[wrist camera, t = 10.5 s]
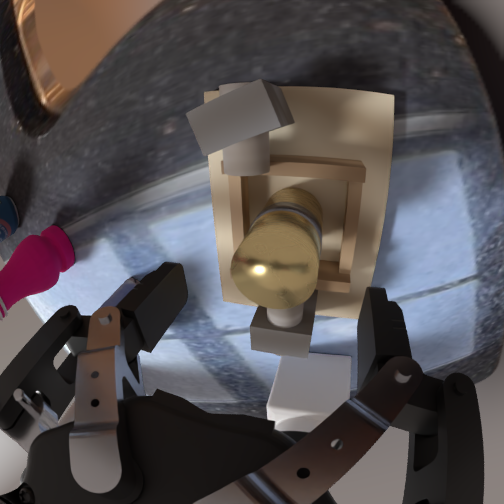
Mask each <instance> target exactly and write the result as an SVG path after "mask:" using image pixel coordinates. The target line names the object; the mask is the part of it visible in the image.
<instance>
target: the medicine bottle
mask: <svg viewBox="0 0 504 504" xmlns="http://www.w3.org/2000/svg"><path fill="white" fill-rule="evenodd" d="M351 362H352V359H351V357H350V356H344V355H331V354H320V353H310V352H309V354H308V359H307V358H299V357H292V356H281V358H280V361H279V365H278V369H277V372H276V376H275V379H274V383H273V386H272V389H271V393H270V396H269V399H268V403H267V417H268V420H273V421H275V429H276V430H278V431H281V432H282V433H284V434H286V435H288V436H289V437H290V438H292V439H293V440H294V441H295V442H298V441H300V440H301V439H302V438H303V437H305V436H306V435H307V434H308V433H310V432H311V431H312V430H313V429H314V428H316V427H317V426H318V425H319V424H320V423H322V422H323V421H324V420H325V419H326V418H327V417H328V416H330V415H331V414H332V413H333V412H334V411H335V410H336V409H337V408H338V407H339V406H340V405H342V404H343V403H344V402H345V401H346V400H348V399H350V383H351Z"/></svg>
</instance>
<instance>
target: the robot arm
mask: <svg viewBox="0 0 504 504" xmlns="http://www.w3.org/2000/svg"><path fill="white" fill-rule="evenodd" d="M187 298H188V290H187V285H186V280H185V275H184V270H183V266H182V265H181V264H180V263H172V262H164V263H163V264H162V265H161V266H160V267H159V268H158V269H157V270H156V271H153V272H151V273H149V274H148V275H146V276H145V277H144V278H143V279H142V280H141V281H140V282H139V284H137V285H136V286H135V287H134V289H132V290H131V291H130V292H129V293H128V294H127V295H126V296H125V297H124V298H123V299H122V300H121V301H120V302H119V303H118V304H117V305H116V306H115V307H113V306H106V307H102V308H100V309H98V310H97V311H95V312H94V313H93V314H92V316H84V315H80V313H79V311H78V309H77V307H76V306H73V305H68V306H64V307H62V308H60V309H59V310H58V311H56V312H55V314H54V315H53V316H52V317H51V318H50V319H49V320H48V321H47V322H46V323H45V324H44V325H43V326H42V327H41V328H40V329H39V331H38V332H37V333H36V334H35V335H34V336H33V337H32V338H31V339H30V341H29V342H28V343H27V344H26V345H25V346H24V347H23V349H22V350H21V351H20V352H19V353H18V355H16V357H15V358H14V359H13V360H12V361H11V363H10V364H9V365H8V366H7V368H6V369H5V370H4V371H3V373H2V374H1V375H0V429H1V430H2V431H3V432H4V433H6V434H7V435H8V436H9V437H10V438H12V439H13V440H14V441H16V442H17V443H18V444H19V445H20V446H21V447H22V448H23V449H24V450H25V451H26V452H27V453H28V459H27V467H26V468H25V470H24V471H23V474H22V475H21V479H20V484H21V485H20V486H19V487H18V488H17V489H15V490H14V491H12V492H9V493H7V494H4V495H0V504H337V503H336V502H335V500H334V499H333V497H332V496H331V494H330V492H329V491H328V489H329V488H331V487H332V486H333V485H334V484H335V483H336V482H337V481H338V480H340V479H341V478H342V477H343V476H344V475H345V474H346V473H347V472H348V471H349V470H350V469H351V468H352V467H353V466H354V465H355V464H356V463H357V462H358V461H359V460H360V459H361V458H362V457H363V456H364V455H365V454H366V453H367V452H368V451H369V449H370V448H371V447H372V446H373V445H374V444H375V443H376V441H378V439H379V438H380V437H381V436H382V435H383V434H384V432H385V431H386V430H387V429H388V427H389V426H392V427H396V428H399V429H402V430H405V431H409V449H408V463H407V464H408V465H407V474H406V483H405V490H404V497H403V503H402V504H483V496H484V450H483V438H482V427H481V419H480V412H479V405H478V399H477V394H476V389H475V385H474V383H473V381H472V380H471V379H470V378H469V377H468V376H466V375H464V374H462V373H453V374H450V375H449V376H447V378H446V379H445V380H444V381H443V380H440V379H437V378H433V377H430V376H427V375H425V374H423V371H422V369H421V367H420V365H419V364H418V363H417V362H416V361H415V360H413V359H412V355H411V349H410V344H409V339H408V334H407V330H406V325H405V322H404V316H403V312H402V310H401V308H400V307H399V306H398V304H397V303H396V302H394V301H388V299H387V294H386V290H385V288H377V287H367V288H366V291H365V295H364V299H363V303H362V307H361V310H360V314H359V318H358V326H357V339H358V382H357V395H356V396H355V397H354V398H353V399H351V398H350V399H348V400H346V401H345V402H344V403H343V404H342V405H340V406H339V407H338V408H337V409H336V410H335V411H334V412H333V413H332V414H331V415H330V416H328V417H327V418H326V419H325V420H324V421H323V422H322V423H320V424H319V425H318V426H317V427H316V428H314V429H313V430H312V431H311V432H310V433H308V434H307V435H306V436H305V437H303V438H302V439H301V440H300V441H298V442H295V441H294V440H293V439H292V438H290V437H289V436H288V435H286V434H284V433H282V432H281V431H278V430H276V429H275V421H273V420H267V419H262V418H257V417H252V416H247V415H236V414H211V413H207V412H205V411H204V410H202V409H200V408H198V407H197V406H195V405H193V404H192V403H190V402H189V401H187V400H185V399H184V398H182V397H179V396H176V395H173V394H170V393H167V392H164V391H162V390H159V389H156V391H155V393H154V394H153V396H146V394H145V391H144V386H143V379H142V372H141V364H140V357H139V355H138V353H139V351H140V350H144V351H146V352H149V353H151V352H152V350H153V349H154V347H155V346H156V344H157V343H158V342H159V340H160V339H161V337H162V336H163V335H164V333H165V332H166V330H167V329H168V328H169V326H170V325H171V323H172V322H173V320H174V319H175V318H176V316H177V315H178V314H179V312H180V311H181V309H182V308H183V307H184V305H185V304H186V301H187ZM65 344H66V345H67V346H68V348H69V350H70V351H71V353H70V354H69V355H68V357H67V358H66V359H65V361H64V362H63V363H62V364H61V366H60V367H59V368H58V369H57V370H56V369H55V367H54V365H53V360H54V357H55V356H56V355H57V353H58V352H59V351H60V350H61V349H62V347H63V346H64V345H65ZM74 396H75V401H74V402H73V403H72V405H71V406H70V408H69V409H68V410H67V412H66V413H65V415H64V416H63V417H62V419H61V420H60V422H59V423H58V420H59V419H60V417H61V415H62V414H63V412H64V411H65V409H66V408H67V406H68V405H69V403H70V402H71V400H72V399H73V397H74Z"/></svg>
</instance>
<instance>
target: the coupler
mask: <svg viewBox="0 0 504 504" xmlns="http://www.w3.org/2000/svg"><path fill="white" fill-rule="evenodd" d="M322 227H323V211H322V207H321V205H320V203H319V201H318V200H317V199H316V198H315V197H314V196H313V195H312V194H311V193H309V192H308V191H305V190H303V189H300V188H284V189H281V190H279V191H277V192H276V193H274V194H273V195H272V196H271V197H270V198H269V200H268V201H267V203H266V204H265V206H264V208H263V209H262V211H261V212H260V213H259V214H258V215H257V217H256V218H255V220H254V221H253V223H252V225H251V226H250V228H249V231H248V233H247V234H246V236H245V237H244V239H243V240H242V242H241V244H240V245H239V247H238V248H237V250H236V252H235V253H234V255H233V258H232V261H231V275H232V278H233V281H234V283H235V285H236V287H237V288H238V289H239V291H240V292H241V293H242V294H243V295H244V296H245V297H246V298H248V299H249V300H251V301H252V302H254V303H256V304H258V305H260V306H263V307H266V308H271V309H288V308H292V307H296V306H298V305H300V304H302V303H303V302H305V301H306V300H307V299H308V298H309V297H310V296H311V295H312V293H313V292H314V290H315V288H316V284H317V277H318V268H319V259H320V254H321V248H322V237H323V235H322Z"/></svg>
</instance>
